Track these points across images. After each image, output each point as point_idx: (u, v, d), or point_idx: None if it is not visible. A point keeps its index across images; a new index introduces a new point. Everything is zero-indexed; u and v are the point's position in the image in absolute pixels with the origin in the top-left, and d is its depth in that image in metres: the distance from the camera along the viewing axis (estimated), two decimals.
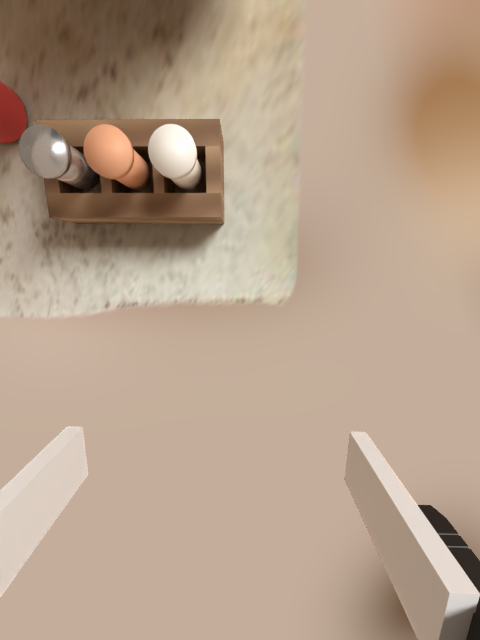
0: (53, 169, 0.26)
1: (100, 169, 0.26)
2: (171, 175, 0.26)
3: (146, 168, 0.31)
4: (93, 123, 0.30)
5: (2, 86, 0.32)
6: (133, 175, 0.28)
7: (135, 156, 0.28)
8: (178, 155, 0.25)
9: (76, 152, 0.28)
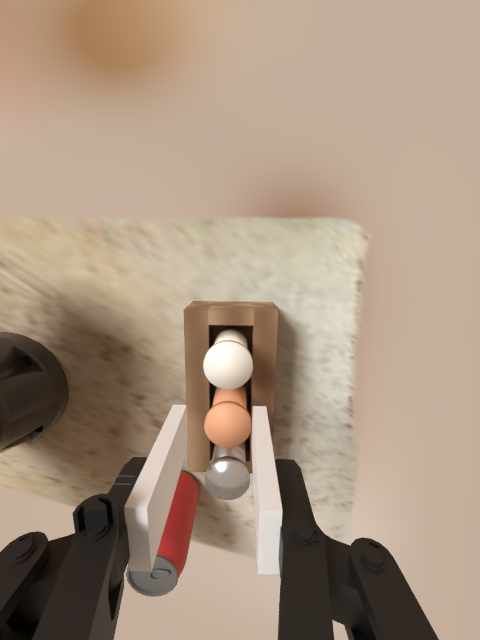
0: (243, 474, 0.27)
1: (243, 434, 0.26)
2: (251, 368, 0.24)
3: None
4: (190, 425, 0.32)
5: None
6: (241, 399, 0.28)
7: (226, 397, 0.28)
8: (232, 360, 0.24)
9: (221, 447, 0.29)
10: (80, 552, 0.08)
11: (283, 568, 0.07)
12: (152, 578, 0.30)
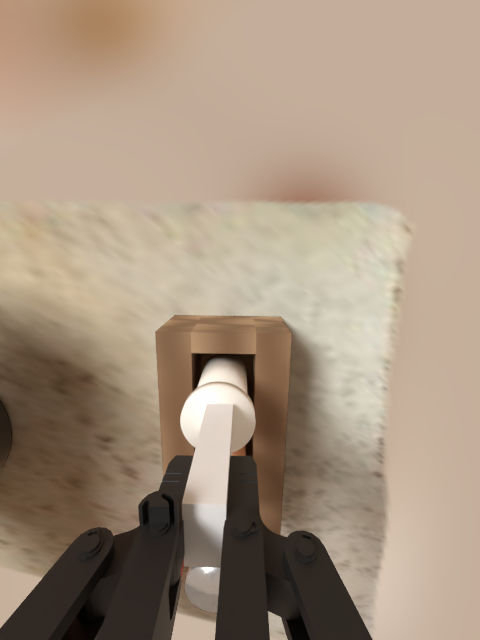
0: None
1: None
2: (253, 425, 0.16)
3: None
4: None
5: None
6: None
7: None
8: None
9: None
10: (144, 546, 0.08)
11: (222, 564, 0.07)
12: None
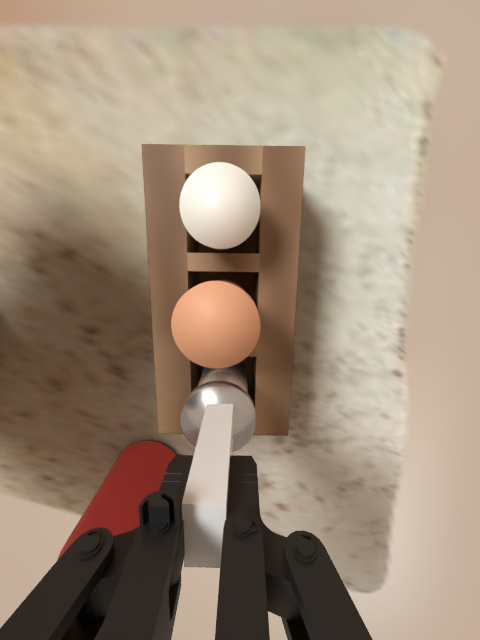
0: (245, 409, 0.16)
1: (246, 341, 0.14)
2: (258, 210, 0.15)
3: (221, 280, 0.18)
4: (159, 356, 0.20)
5: (119, 463, 0.25)
6: None
7: None
8: (227, 195, 0.15)
9: (209, 375, 0.18)
10: (144, 546, 0.08)
11: (222, 564, 0.07)
12: None
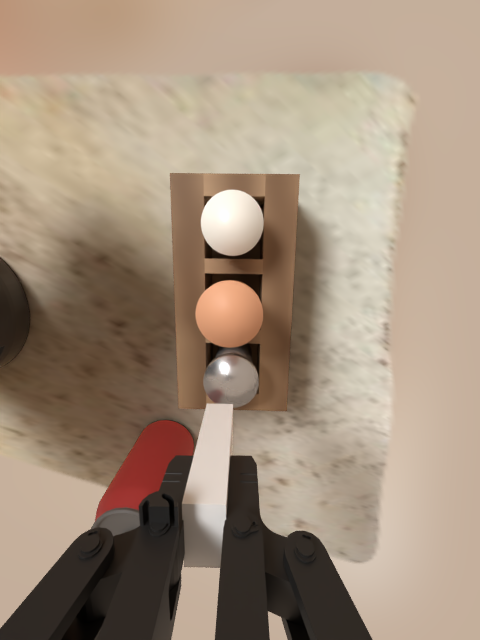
0: (250, 374, 0.22)
1: (252, 326, 0.18)
2: (261, 226, 0.19)
3: None
4: (180, 343, 0.24)
5: (143, 437, 0.29)
6: None
7: None
8: (238, 215, 0.19)
9: (223, 352, 0.24)
10: (144, 546, 0.08)
11: (222, 564, 0.07)
12: None
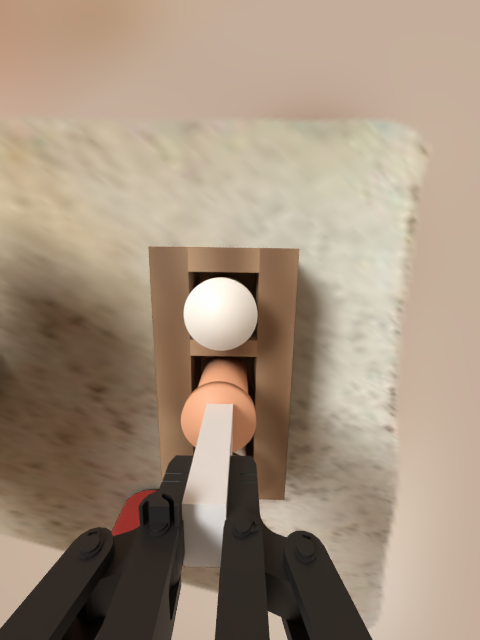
0: None
1: (244, 434, 0.16)
2: (255, 318, 0.16)
3: (223, 359, 0.21)
4: (163, 430, 0.21)
5: (125, 517, 0.26)
6: (241, 380, 0.19)
7: (216, 377, 0.18)
8: (227, 306, 0.16)
9: None
10: (144, 546, 0.08)
11: (222, 564, 0.07)
12: None
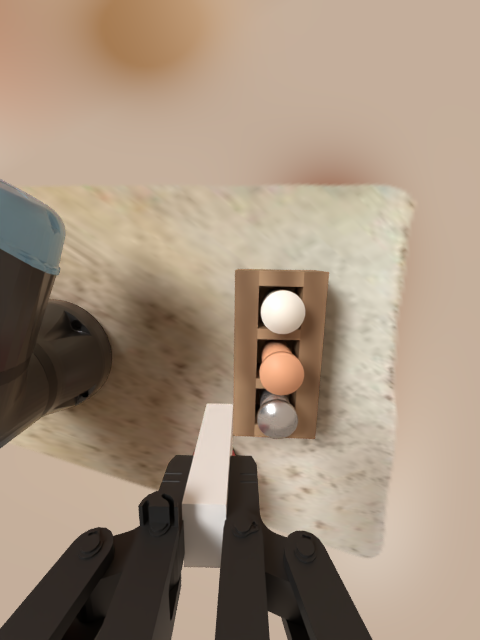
0: (292, 415, 0.30)
1: (296, 382, 0.27)
2: (304, 314, 0.27)
3: (276, 342, 0.32)
4: (236, 388, 0.32)
5: None
6: (291, 353, 0.30)
7: (277, 350, 0.29)
8: (287, 307, 0.27)
9: (268, 395, 0.32)
10: (144, 546, 0.08)
11: (222, 564, 0.07)
12: None
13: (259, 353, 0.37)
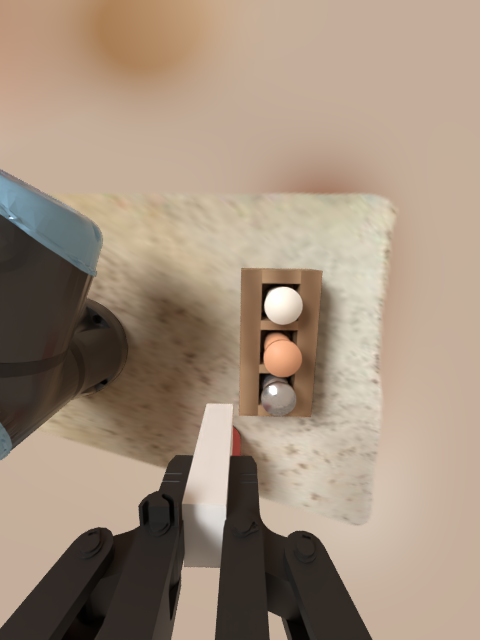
0: (291, 394, 0.34)
1: (295, 365, 0.32)
2: (301, 307, 0.32)
3: (277, 332, 0.37)
4: (242, 373, 0.37)
5: None
6: (290, 341, 0.34)
7: (278, 339, 0.34)
8: (287, 301, 0.32)
9: (270, 378, 0.37)
10: (144, 545, 0.08)
11: (222, 564, 0.07)
12: None
13: (261, 343, 0.41)
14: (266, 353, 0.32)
